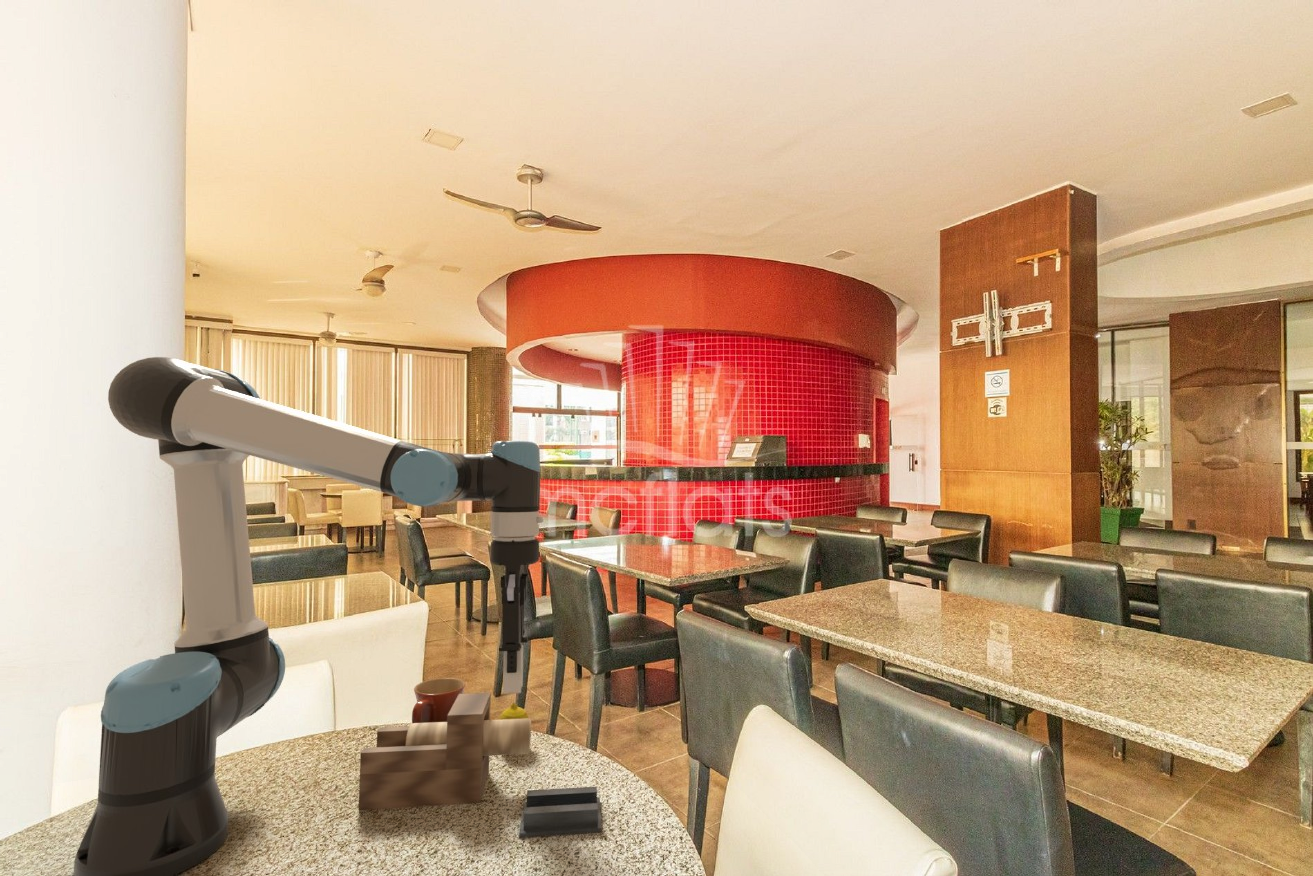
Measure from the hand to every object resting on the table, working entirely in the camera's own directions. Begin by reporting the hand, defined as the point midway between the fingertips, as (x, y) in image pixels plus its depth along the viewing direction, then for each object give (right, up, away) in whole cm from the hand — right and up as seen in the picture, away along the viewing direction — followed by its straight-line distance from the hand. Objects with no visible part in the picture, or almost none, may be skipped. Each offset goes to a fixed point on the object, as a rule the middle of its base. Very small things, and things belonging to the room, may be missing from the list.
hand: (512, 689), depth 96 cm
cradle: (+9, -14, -10) cm, 20 cm away
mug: (-17, -16, +12) cm, 26 cm away
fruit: (-3, -16, +12) cm, 20 cm away
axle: (-6, -10, -1) cm, 12 cm away
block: (-12, -14, -2) cm, 19 cm away
